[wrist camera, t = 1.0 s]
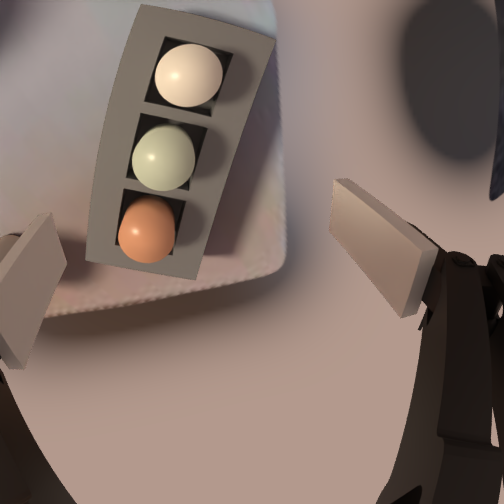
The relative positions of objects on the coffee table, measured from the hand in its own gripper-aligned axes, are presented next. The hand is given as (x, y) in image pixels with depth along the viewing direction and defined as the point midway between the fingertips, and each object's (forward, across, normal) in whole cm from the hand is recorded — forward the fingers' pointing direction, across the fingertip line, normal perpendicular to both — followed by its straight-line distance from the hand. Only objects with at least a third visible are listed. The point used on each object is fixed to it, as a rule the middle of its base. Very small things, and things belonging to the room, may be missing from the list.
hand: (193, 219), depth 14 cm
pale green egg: (+16, -2, 0) cm, 16 cm away
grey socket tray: (+20, -2, 0) cm, 20 cm away
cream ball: (+16, 0, +6) cm, 17 cm away
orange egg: (+16, -4, -7) cm, 18 cm away
